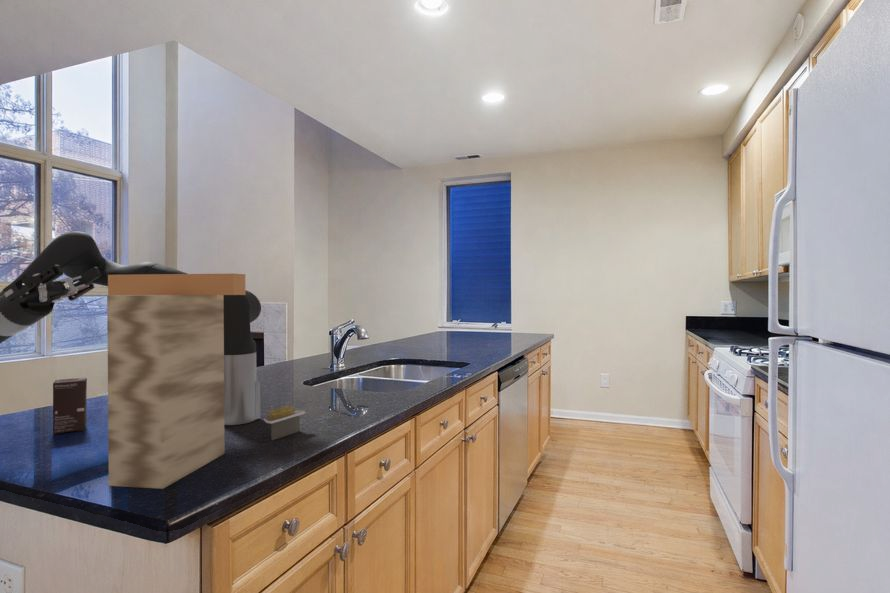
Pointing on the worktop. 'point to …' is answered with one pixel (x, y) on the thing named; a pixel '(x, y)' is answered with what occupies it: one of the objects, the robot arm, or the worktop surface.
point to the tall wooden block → (164, 387)
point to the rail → (177, 284)
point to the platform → (284, 421)
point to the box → (69, 405)
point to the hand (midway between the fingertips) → (80, 269)
